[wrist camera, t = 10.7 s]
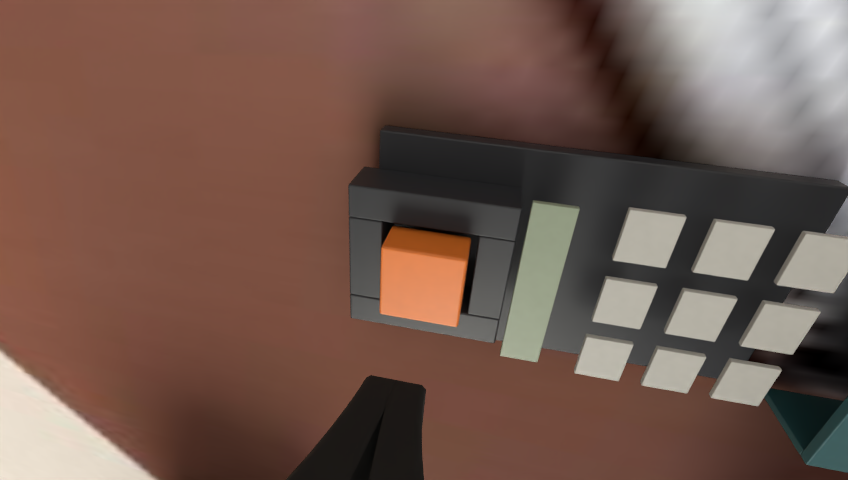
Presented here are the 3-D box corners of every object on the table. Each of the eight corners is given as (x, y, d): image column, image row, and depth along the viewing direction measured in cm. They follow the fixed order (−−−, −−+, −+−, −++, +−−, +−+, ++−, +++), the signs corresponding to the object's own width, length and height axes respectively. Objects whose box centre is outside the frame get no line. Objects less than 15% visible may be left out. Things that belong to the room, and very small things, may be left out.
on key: (471, 236, 15) (467, 259, 14) (462, 301, 16) (457, 328, 15) (391, 224, 15) (380, 246, 14) (389, 289, 17) (378, 314, 15)
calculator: (839, 180, 14) (898, 213, 12) (728, 369, 18) (756, 420, 16) (369, 122, 16) (347, 142, 14) (367, 307, 20) (350, 344, 18)
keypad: (755, 402, 16) (758, 406, 16) (499, 356, 17) (499, 359, 17) (863, 238, 12) (868, 241, 12) (534, 194, 13) (534, 196, 13)
